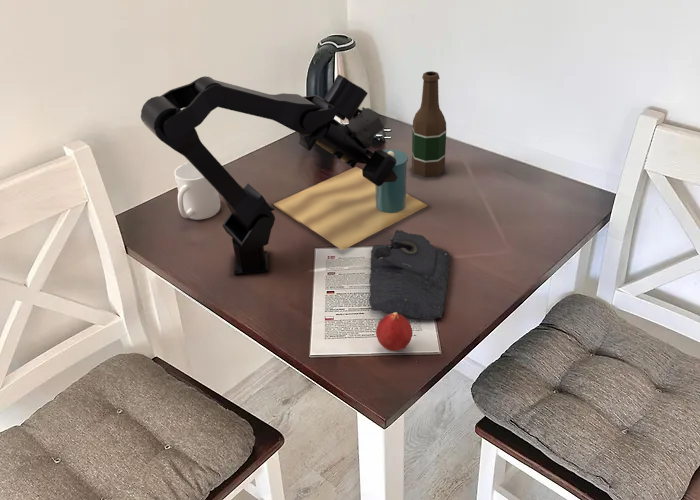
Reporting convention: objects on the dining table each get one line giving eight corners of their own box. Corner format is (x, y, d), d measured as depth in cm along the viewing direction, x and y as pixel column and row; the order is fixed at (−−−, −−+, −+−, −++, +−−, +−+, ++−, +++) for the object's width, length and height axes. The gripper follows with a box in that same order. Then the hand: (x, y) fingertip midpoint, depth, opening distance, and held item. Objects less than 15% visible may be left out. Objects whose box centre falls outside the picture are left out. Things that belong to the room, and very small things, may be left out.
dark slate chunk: (356, 317, 115) (355, 297, 112) (374, 244, 133) (373, 225, 130) (444, 325, 113) (445, 304, 110) (451, 249, 130) (452, 230, 127)
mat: (428, 207, 143) (428, 205, 142) (342, 252, 131) (342, 250, 131) (356, 168, 158) (356, 166, 158) (274, 205, 146) (273, 203, 146)
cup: (227, 202, 148) (220, 162, 142) (202, 232, 139) (193, 191, 133) (194, 198, 150) (186, 158, 144) (167, 227, 141) (157, 186, 135)
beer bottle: (408, 177, 154) (409, 78, 139) (415, 161, 160) (417, 65, 145) (441, 181, 152) (445, 81, 137) (447, 165, 158) (452, 68, 143)
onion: (369, 351, 108) (368, 315, 104) (389, 332, 112) (389, 296, 107) (398, 366, 105) (399, 330, 101) (418, 346, 109) (419, 309, 104)
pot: (409, 212, 141) (410, 158, 133) (376, 215, 140) (375, 161, 133) (404, 195, 146) (404, 142, 139) (372, 197, 146) (371, 145, 138)
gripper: (387, 118, 118) (433, 154, 130) (331, 87, 131) (378, 122, 142) (353, 170, 120) (401, 201, 131) (301, 134, 133) (349, 165, 144)
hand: (382, 170), depth 137 cm, fingers open, 9 cm apart
